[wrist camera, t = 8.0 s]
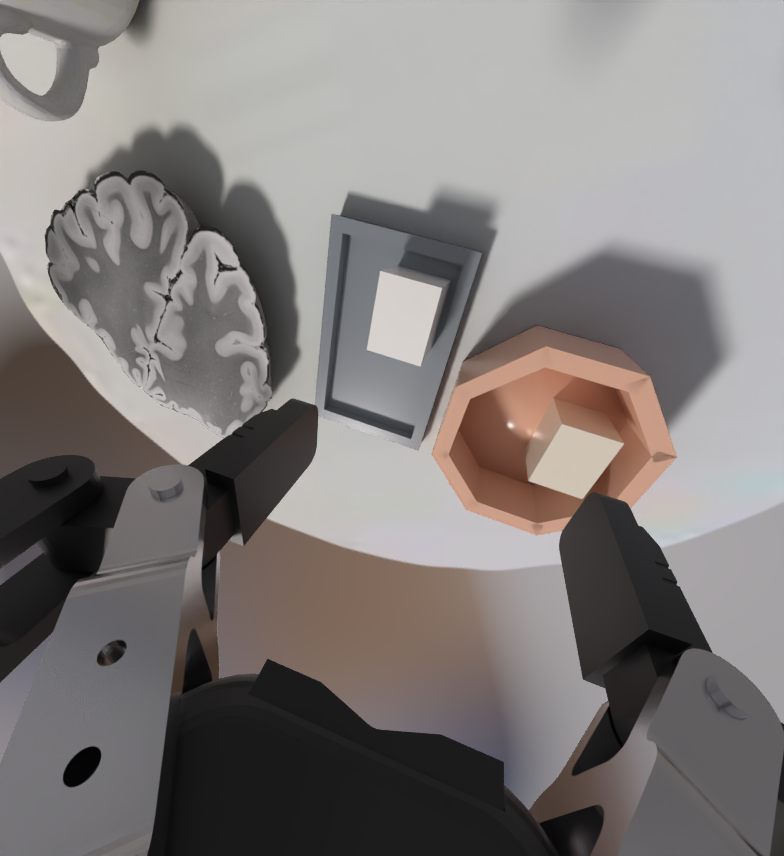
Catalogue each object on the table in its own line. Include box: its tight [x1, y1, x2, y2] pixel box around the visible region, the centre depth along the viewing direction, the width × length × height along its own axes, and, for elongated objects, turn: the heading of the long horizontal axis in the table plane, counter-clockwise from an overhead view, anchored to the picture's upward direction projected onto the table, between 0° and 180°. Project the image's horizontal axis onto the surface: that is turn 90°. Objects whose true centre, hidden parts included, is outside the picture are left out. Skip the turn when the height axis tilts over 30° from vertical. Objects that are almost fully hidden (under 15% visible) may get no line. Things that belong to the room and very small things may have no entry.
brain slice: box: [45, 171, 272, 438], centre depth 25 cm, size 20×17×3 cm
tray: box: [315, 214, 483, 450], centre depth 23 cm, size 14×9×1 cm, turn 168°
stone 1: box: [367, 266, 451, 367], centre depth 20 cm, size 4×3×4 cm
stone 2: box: [525, 398, 624, 499], centre depth 21 cm, size 4×3×4 cm
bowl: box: [432, 325, 677, 535], centre depth 21 cm, size 12×12×5 cm
